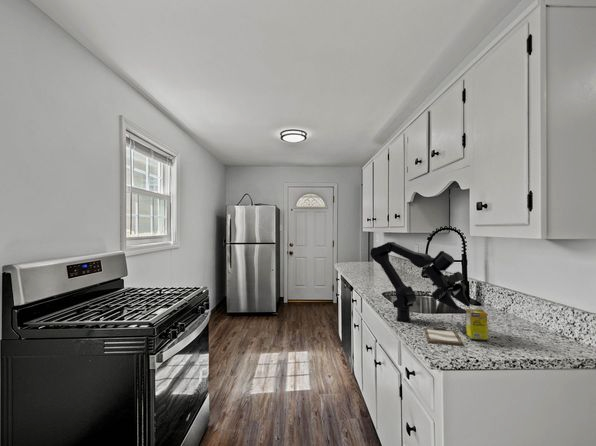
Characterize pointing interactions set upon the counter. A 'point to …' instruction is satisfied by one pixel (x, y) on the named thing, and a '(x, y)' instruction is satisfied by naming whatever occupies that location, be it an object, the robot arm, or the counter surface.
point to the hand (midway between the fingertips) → (463, 307)
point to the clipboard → (442, 336)
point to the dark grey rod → (461, 328)
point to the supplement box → (476, 325)
